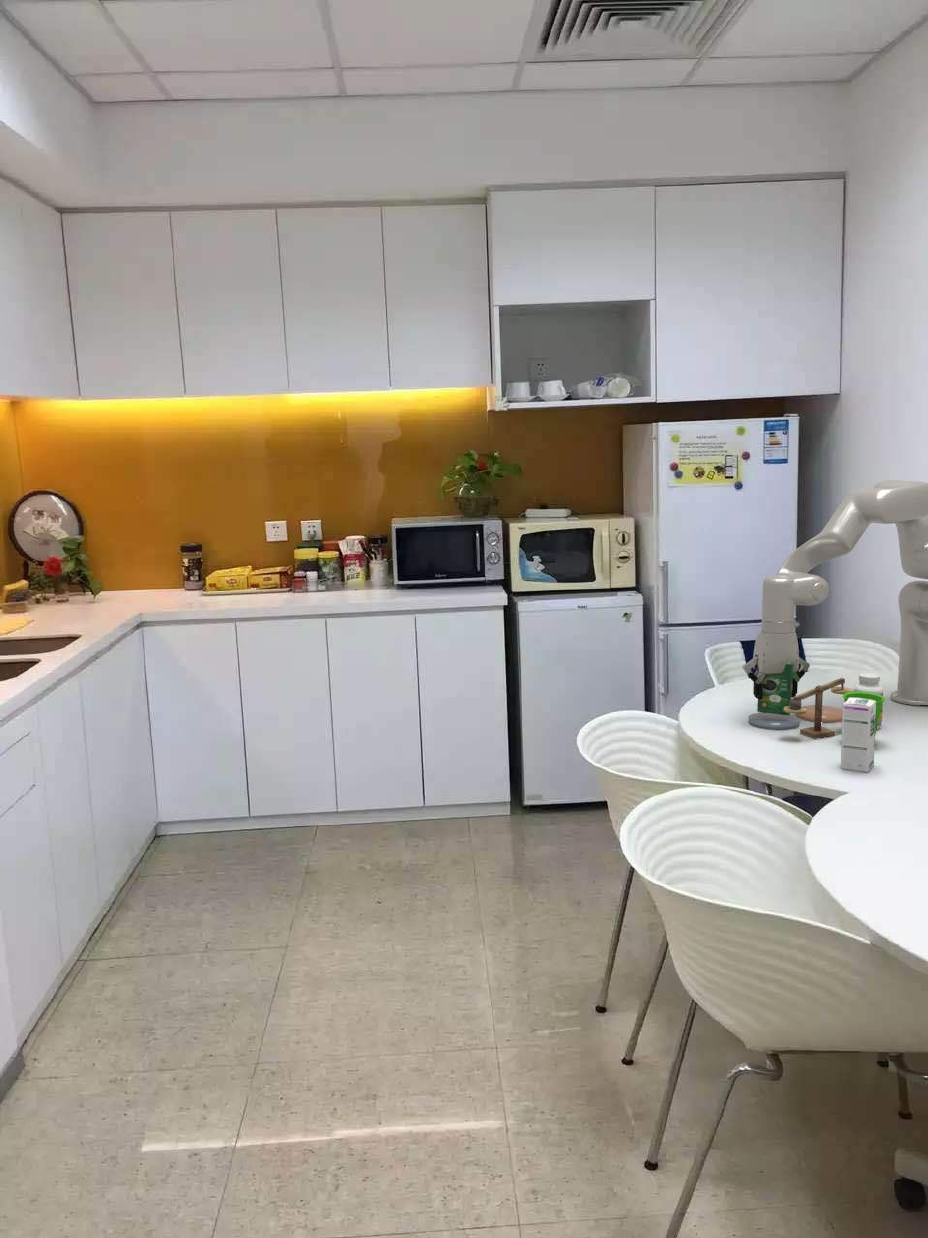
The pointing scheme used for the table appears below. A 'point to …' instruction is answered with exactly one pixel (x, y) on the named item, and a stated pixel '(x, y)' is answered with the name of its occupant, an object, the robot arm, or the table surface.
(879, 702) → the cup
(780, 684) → the coffee box
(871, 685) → the supplement bottle
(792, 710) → the balance
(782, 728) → the dish
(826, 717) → the dish
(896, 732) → the table surface
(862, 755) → the syrup box
